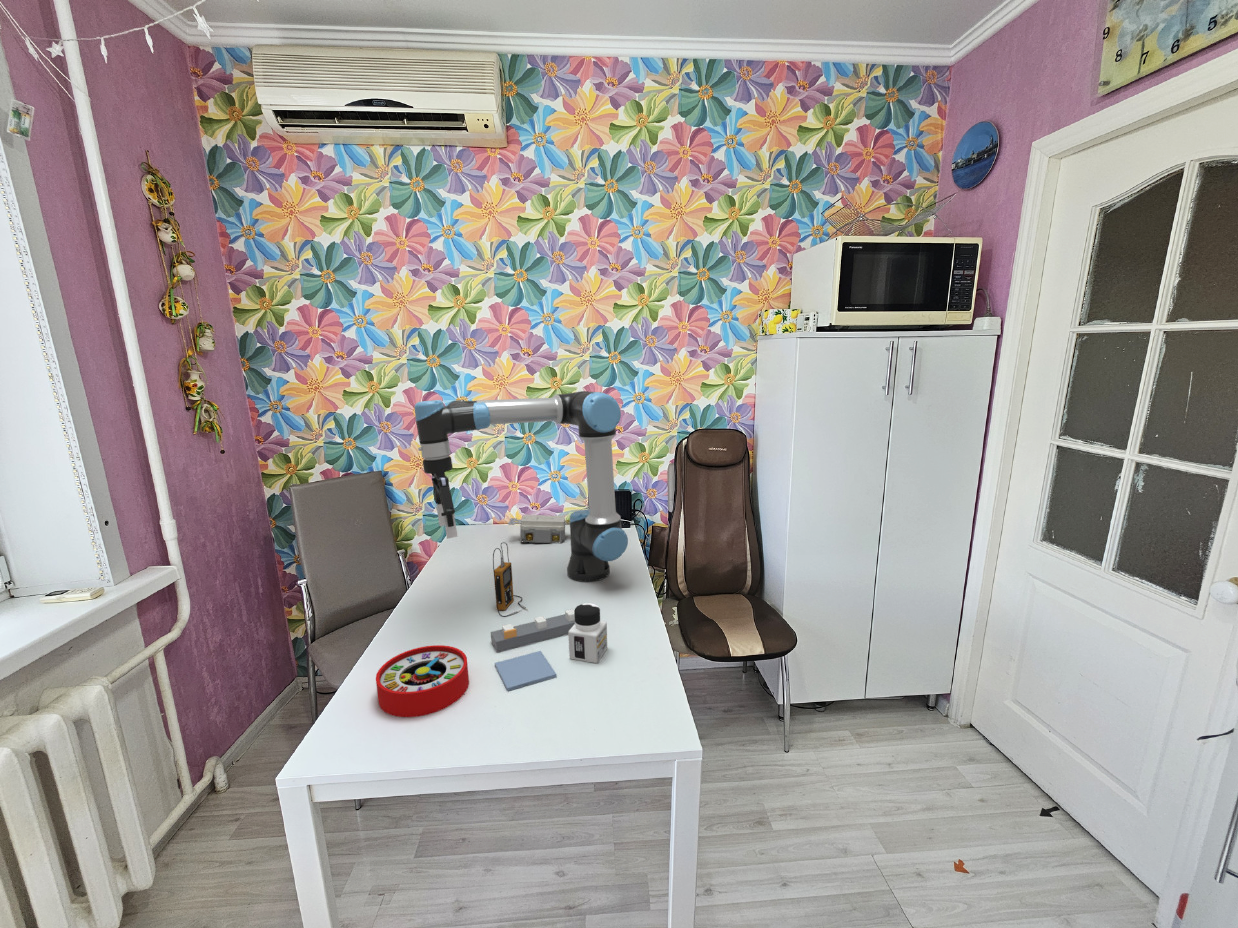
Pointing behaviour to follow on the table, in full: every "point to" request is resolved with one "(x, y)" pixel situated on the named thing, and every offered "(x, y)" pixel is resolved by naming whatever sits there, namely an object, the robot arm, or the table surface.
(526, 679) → the pad
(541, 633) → the breaker panel
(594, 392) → the robot arm
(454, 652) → the toy clock
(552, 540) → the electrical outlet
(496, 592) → the multimeter
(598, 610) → the container
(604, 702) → the table surface
